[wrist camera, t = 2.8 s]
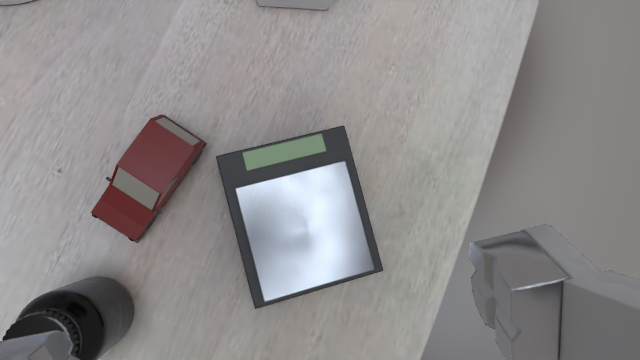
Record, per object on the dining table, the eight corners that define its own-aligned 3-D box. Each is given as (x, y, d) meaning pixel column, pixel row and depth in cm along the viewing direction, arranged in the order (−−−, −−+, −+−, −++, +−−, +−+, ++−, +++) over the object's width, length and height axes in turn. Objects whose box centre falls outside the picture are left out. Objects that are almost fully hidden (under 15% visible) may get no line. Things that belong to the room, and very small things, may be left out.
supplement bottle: (89, 261, 44) (28, 278, 32) (149, 301, 44) (110, 332, 32) (42, 323, 43) (-39, 363, 31) (103, 363, 43) (47, 418, 31)
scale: (217, 159, 46) (215, 155, 43) (339, 130, 48) (345, 123, 45) (255, 304, 46) (255, 310, 42) (376, 267, 48) (385, 271, 44)
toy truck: (94, 212, 44) (72, 210, 39) (164, 116, 46) (152, 103, 41) (145, 245, 45) (130, 247, 40) (213, 149, 46) (207, 139, 41)
